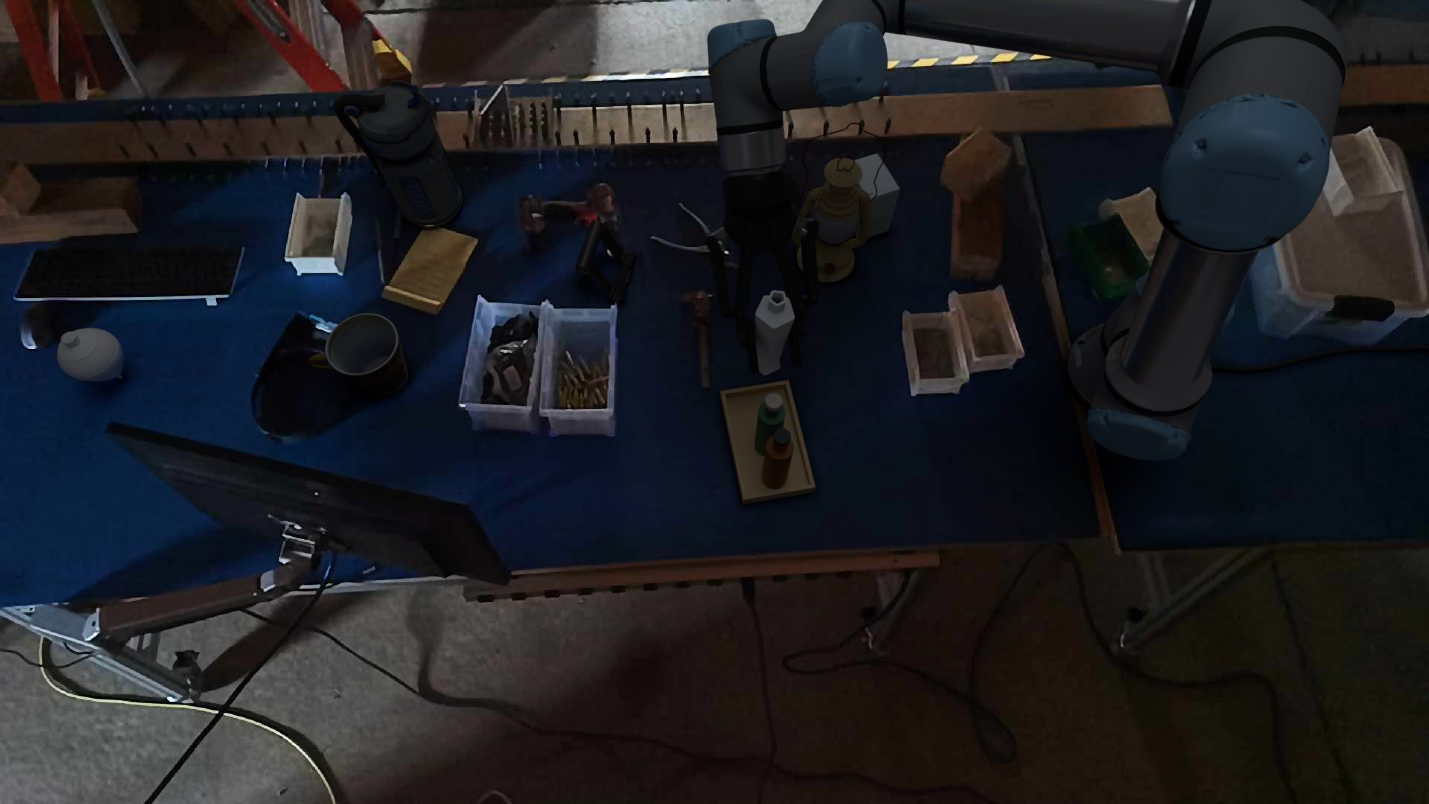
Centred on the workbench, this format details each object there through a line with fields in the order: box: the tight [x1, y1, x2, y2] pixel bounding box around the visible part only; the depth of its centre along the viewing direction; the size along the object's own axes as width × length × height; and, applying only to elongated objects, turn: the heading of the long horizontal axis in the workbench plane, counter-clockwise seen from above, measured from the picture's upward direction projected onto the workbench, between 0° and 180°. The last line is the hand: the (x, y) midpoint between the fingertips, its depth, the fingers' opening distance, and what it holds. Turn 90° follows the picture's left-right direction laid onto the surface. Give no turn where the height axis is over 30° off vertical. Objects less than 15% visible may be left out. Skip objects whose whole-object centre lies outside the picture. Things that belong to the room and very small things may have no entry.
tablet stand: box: [574, 220, 637, 304], centre depth 133 cm, size 9×8×8 cm
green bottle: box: [754, 393, 786, 456], centre depth 117 cm, size 4×4×14 cm
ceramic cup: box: [308, 312, 409, 398], centre depth 124 cm, size 13×10×10 cm
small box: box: [854, 153, 901, 238], centre depth 137 cm, size 8×6×10 cm
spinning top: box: [56, 327, 124, 382], centre depth 123 cm, size 8×8×12 cm
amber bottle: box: [762, 428, 794, 489], centre depth 115 cm, size 4×4×14 cm
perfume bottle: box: [754, 289, 795, 376], centre depth 104 cm, size 5×4×15 cm
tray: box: [719, 379, 816, 505], centre depth 123 cm, size 10×17×2 cm, turn 11°
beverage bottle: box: [332, 79, 464, 228], centre depth 131 cm, size 10×13×25 cm
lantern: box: [791, 122, 887, 283], centre depth 125 cm, size 12×10×30 cm
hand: (775, 366), depth 105 cm, fingers closed on perfume bottle, 4 cm apart
